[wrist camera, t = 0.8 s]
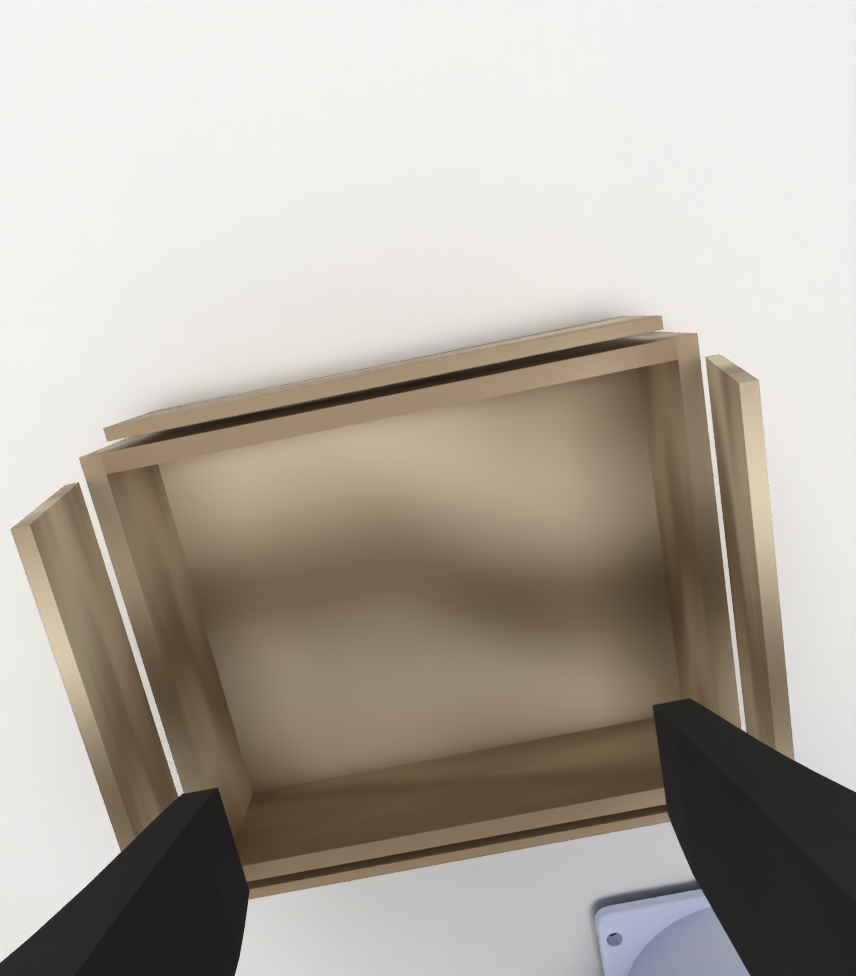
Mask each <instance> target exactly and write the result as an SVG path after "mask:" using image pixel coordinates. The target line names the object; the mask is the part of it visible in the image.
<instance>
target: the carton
mask: <svg viewBox="0 0 856 976" xmlns="http://www.w3.org/2000/svg"><path fill="white" fill-rule="evenodd" d="M661 329H663V323H662V316H628V317H618V318H613V319H608V320H603V321H598V322H593V323H588V324H583V325H578V326H573V327H568V328H563V329H558V330H553V331H549V332H544V333H539V334H534V335H529V336H524V337H519V338H514V339H509V340H504V341H499V342H494V343H489V344H484V345H479V346H474V347H469V348H465V349H460V350H455V351H450V352H445V353H440V354H435V355H430V356H425V357H420V358H415V359H410V360H405V361H400V362H395V363H390V364H385V365H381V366H376V367H371V368H366V369H361V370H356V371H351V372H346V373H341V374H336V375H331V376H326V377H321V378H316V379H311V380H306V381H302V382H297V383H292V384H287V385H282V386H277V387H272V388H267V389H262V390H257V391H252V392H247V393H242V394H237V395H232V396H227V397H222V398H218V399H213V400H208V401H203V402H198V403H193V404H188V405H183V406H178V407H173V408H168V409H163V410H158V411H153V412H150V413H147V414H144V415H141V416H138V417H135V418H133V419H130V420H127V421H124V422H121V423H118V424H115V425H112V426H109V427H106V428H104V432H105V435H106V439H107V441H111V440H116V439H121V438H126V437H129V438H127V439H124V440H122V441H119V442H117V443H115V444H112V445H110V446H107V447H105V448H102V449H100V450H97V451H95V452H92V453H90V454H88V455H85V456H83V457H80V458H79V459H80V463H81V466H82V469H83V472H84V475H85V478H86V482H87V485H88V488H89V491H90V494H91V498H92V501H93V504H94V507H95V510H96V514H97V517H98V520H99V523H100V526H101V530H102V533H103V536H104V539H105V542H106V546H107V549H108V552H109V555H110V558H111V561H112V565H113V568H114V571H115V574H116V577H117V581H118V584H119V587H120V590H121V593H122V597H123V600H124V603H125V606H126V609H127V613H128V616H129V619H130V622H131V625H132V629H133V632H134V635H135V638H136V641H137V645H138V648H139V651H140V654H141V657H142V660H143V664H144V667H145V670H146V673H147V676H148V680H149V683H150V686H151V689H152V692H153V696H154V699H155V702H156V705H157V708H158V712H159V715H160V718H161V721H162V724H163V728H164V731H165V734H166V737H167V740H168V743H169V747H170V750H171V753H172V756H173V759H174V763H175V766H176V769H177V772H178V775H179V779H180V782H181V785H182V788H183V791H184V794H185V793H191V792H196V791H201V790H206V789H212V788H217V787H218V788H219V792H220V795H221V798H222V802H223V805H224V808H225V812H226V815H227V818H228V822H229V825H230V828H231V831H232V835H233V838H234V841H235V845H236V848H237V851H238V855H239V858H240V861H241V865H242V868H243V871H244V875H245V878H246V881H247V885H248V888H249V891H250V892H249V899H253V898H259V897H264V896H270V895H275V894H280V893H286V892H291V891H297V890H302V889H308V888H313V887H318V886H324V885H329V884H335V883H340V882H345V881H351V880H356V879H362V878H367V877H373V876H378V875H383V874H389V873H394V872H400V871H405V870H410V869H416V868H421V867H427V866H432V865H438V864H443V863H448V862H454V861H459V860H465V859H470V858H476V857H481V856H486V855H492V854H497V853H503V852H508V851H513V850H519V849H524V848H530V847H535V846H541V845H546V844H551V843H557V842H562V841H568V840H573V839H578V838H584V837H589V836H595V835H600V834H606V833H611V832H616V831H622V830H627V829H633V828H638V827H643V826H649V825H654V824H660V823H665V822H671V821H670V818H669V816H668V813H667V805H666V798H665V791H664V784H663V777H662V770H661V763H660V756H659V749H658V741H657V734H656V727H655V720H654V713H653V706H652V705H656V704H661V703H666V702H672V701H677V700H682V699H688V698H691V699H692V700H694V701H696V702H698V703H699V704H701V705H703V706H704V707H706V708H707V709H709V710H711V711H712V712H714V713H715V714H717V715H719V716H720V717H722V718H723V719H725V720H727V721H728V722H730V723H731V724H733V725H735V726H736V727H738V728H740V729H741V722H740V713H739V704H738V695H737V686H736V677H735V668H734V659H733V650H732V641H731V632H730V623H729V614H728V605H727V596H726V587H725V578H724V569H723V560H722V551H721V542H720V533H719V524H718V515H717V506H716V497H715V488H714V479H713V470H712V461H711V452H710V443H709V434H708V425H707V416H706V407H705V398H704V389H703V380H702V371H701V362H700V353H699V345H698V336H697V333H674V332H651V331H656V330H661ZM130 436H132V437H130Z"/></svg>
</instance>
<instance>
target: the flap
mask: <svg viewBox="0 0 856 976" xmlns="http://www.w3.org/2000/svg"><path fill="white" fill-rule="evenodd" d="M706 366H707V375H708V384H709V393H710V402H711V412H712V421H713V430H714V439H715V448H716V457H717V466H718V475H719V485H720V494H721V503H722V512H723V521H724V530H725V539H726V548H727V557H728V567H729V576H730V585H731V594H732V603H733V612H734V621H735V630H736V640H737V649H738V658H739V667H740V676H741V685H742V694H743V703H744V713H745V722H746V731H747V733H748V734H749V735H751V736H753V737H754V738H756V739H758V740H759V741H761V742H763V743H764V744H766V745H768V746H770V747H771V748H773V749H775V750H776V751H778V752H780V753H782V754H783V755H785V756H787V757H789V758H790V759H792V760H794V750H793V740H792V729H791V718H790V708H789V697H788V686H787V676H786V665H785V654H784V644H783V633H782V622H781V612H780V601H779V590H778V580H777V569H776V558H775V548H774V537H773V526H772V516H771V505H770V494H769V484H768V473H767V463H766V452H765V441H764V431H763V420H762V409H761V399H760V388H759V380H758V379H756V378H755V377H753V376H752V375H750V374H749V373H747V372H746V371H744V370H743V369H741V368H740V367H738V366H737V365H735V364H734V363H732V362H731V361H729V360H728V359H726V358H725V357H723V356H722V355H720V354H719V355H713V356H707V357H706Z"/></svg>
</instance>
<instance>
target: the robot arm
mask: <svg viewBox="0 0 856 976" xmlns="http://www.w3.org/2000/svg"><path fill="white" fill-rule="evenodd" d="M652 706H653V713H654V720H655V727H656V734H657V741H658V749H659V756H660V763H661V770H662V777H663V784H664V791H665V798H666V805H667V813H668V816H669V818H670V821H671V823H672V826H673V828H674V831H675V833H676V835H677V838H678V840H679V843H680V845H681V848H682V850H683V852H684V854H685V857H686V859H687V861H688V864H689V866H690V868H691V871H692V873H693V875H694V877H695V879H696V880H697V882H698V884H699V886H700V888H701V889H698V890H692V891H687V892H681V893H676V894H670V895H665V896H659V897H654V898H648V899H643V900H637V901H632V902H626V903H621V904H615V905H610V906H606V907H603V908H601V909H600V910H599V911H598V912H597V913H596V915H595V926H596V932H597V937H598V943H599V949H600V955H601V960H602V966H603V972H604V976H856V792H854V791H852V790H850V789H848V788H846V787H844V786H842V785H840V784H838V783H836V782H834V781H832V780H830V779H828V778H826V777H824V776H822V775H820V774H818V773H816V772H814V771H812V770H811V769H809V768H807V767H805V766H803V765H801V764H800V763H798V762H796V761H794V760H792V759H790V758H789V757H787V756H785V755H783V754H782V753H780V752H778V751H776V750H775V749H773V748H771V747H770V746H768V745H766V744H764V743H763V742H761V741H759V740H758V739H756V738H754V737H753V736H751V735H749V734H748V733H746V732H744V731H743V730H741V729H740V728H738V727H736V726H735V725H733V724H731V723H730V722H728V721H727V720H725V719H723V718H722V717H720V716H719V715H717V714H715V713H714V712H712V711H711V710H709V709H707V708H706V707H704V706H703V705H701V704H699V703H698V702H696V701H694V700H692V699H691V698H688V699H682V700H677V701H672V702H666V703H661V704H656V705H652ZM249 892H250V891H249V888H248V885H247V881H246V878H245V875H244V871H243V868H242V865H241V861H240V858H239V855H238V851H237V848H236V845H235V841H234V838H233V835H232V831H231V828H230V825H229V822H228V818H227V815H226V812H225V808H224V805H223V802H222V798H221V795H220V792H219V788H218V787H217V788H212V789H206V790H201V791H196V792H191V793H185V794H182V795H181V796H179V797H178V798H177V799H176V800H175V801H173V802H172V803H171V804H170V805H169V806H168V807H167V808H166V809H165V810H164V811H163V812H162V813H160V814H159V815H158V816H157V817H156V818H155V819H154V820H153V821H152V822H151V823H150V824H149V825H148V826H147V827H146V828H145V829H144V830H143V831H142V832H141V833H140V834H139V835H138V836H137V837H136V838H135V839H134V840H133V841H132V842H131V843H130V844H129V845H128V846H127V847H126V848H125V849H124V850H123V851H122V852H121V853H120V854H119V855H118V856H117V857H116V858H115V859H114V860H113V861H112V862H111V863H110V864H109V865H108V866H107V867H106V868H105V869H103V870H102V871H101V872H100V873H99V874H98V875H97V876H96V877H95V878H94V879H93V880H92V881H91V882H90V883H89V884H88V885H87V886H86V887H85V888H84V889H83V890H82V891H81V892H79V893H78V894H77V895H76V896H75V897H74V898H73V899H72V900H71V901H70V902H69V903H67V904H66V905H65V906H64V907H63V908H62V909H61V910H60V911H59V912H58V913H57V914H55V915H54V916H53V917H52V918H51V919H50V920H49V921H48V922H47V923H46V924H45V925H43V926H42V927H41V928H40V929H39V930H38V931H37V932H36V933H35V934H34V935H32V936H31V937H30V938H29V939H28V940H27V941H26V942H24V943H23V944H22V945H21V946H20V947H19V948H17V949H16V950H15V951H14V952H13V953H11V954H10V955H9V956H8V957H7V958H5V959H4V960H3V961H2V962H1V963H0V976H235V972H236V968H237V964H238V961H239V957H240V951H241V945H242V939H243V933H244V927H245V920H246V913H247V906H248V899H249ZM612 933H617V935H614V936H609V935H610V934H612Z"/></svg>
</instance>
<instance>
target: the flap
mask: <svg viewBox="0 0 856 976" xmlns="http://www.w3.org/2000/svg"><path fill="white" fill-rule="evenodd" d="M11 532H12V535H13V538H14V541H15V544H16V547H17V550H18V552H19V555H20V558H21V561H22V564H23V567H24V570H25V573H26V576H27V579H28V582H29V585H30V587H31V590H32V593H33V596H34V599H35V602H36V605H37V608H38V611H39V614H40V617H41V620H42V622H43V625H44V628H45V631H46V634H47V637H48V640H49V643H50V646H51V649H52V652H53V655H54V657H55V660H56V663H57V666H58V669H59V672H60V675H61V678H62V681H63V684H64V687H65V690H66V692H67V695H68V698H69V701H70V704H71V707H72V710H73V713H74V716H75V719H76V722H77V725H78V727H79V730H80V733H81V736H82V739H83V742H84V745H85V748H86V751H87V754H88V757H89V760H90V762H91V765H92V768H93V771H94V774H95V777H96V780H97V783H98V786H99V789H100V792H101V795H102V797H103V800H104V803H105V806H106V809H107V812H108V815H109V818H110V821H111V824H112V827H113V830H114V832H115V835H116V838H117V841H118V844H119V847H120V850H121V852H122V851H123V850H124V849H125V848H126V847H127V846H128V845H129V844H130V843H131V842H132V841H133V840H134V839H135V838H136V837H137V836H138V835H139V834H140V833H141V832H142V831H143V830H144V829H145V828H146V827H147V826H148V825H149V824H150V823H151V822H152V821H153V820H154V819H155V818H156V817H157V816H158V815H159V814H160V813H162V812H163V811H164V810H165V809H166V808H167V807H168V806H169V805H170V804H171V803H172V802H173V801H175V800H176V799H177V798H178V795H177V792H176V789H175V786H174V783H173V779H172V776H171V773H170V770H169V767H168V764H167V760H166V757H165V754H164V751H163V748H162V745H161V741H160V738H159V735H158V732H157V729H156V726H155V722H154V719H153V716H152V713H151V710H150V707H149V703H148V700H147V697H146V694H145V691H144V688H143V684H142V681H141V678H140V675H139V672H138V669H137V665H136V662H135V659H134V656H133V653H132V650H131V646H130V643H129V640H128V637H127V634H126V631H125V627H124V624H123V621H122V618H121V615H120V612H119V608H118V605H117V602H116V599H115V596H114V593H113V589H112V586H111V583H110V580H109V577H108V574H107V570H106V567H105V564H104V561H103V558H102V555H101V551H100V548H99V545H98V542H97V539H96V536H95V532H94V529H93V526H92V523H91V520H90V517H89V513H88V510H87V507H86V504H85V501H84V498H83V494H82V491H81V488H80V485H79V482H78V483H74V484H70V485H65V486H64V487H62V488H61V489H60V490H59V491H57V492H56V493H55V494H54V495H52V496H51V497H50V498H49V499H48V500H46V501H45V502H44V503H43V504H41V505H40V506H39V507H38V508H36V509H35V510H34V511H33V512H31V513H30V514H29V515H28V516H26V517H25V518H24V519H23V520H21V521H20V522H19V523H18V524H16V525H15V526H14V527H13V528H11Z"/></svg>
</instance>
